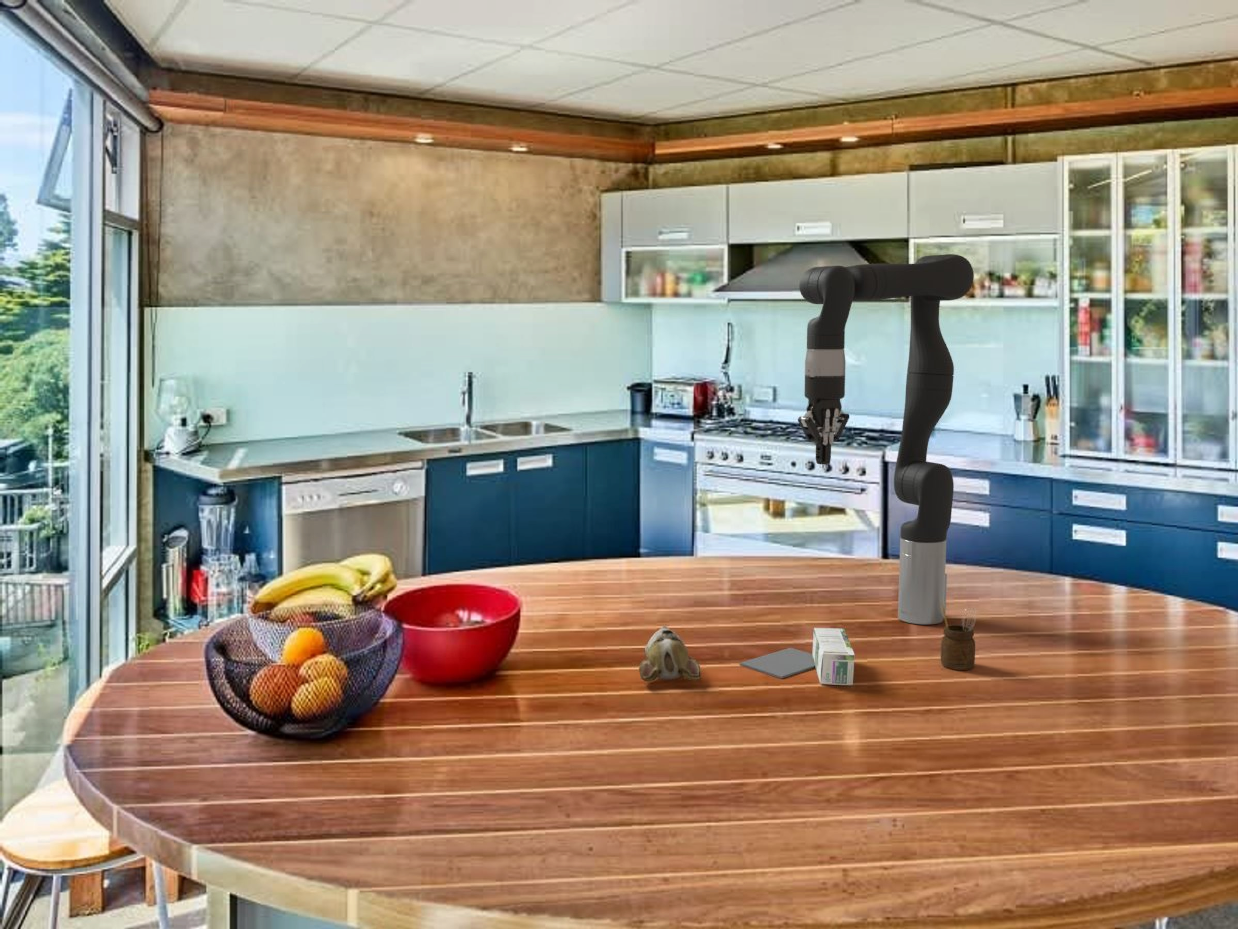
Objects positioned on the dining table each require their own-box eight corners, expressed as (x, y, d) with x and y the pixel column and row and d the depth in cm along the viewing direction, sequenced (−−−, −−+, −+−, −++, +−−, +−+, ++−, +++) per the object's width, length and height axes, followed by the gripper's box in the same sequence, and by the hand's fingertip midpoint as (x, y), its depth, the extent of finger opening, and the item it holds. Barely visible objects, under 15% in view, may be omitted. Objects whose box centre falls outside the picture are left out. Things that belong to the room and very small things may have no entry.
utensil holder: (976, 672, 191) (979, 606, 189) (939, 669, 192) (942, 604, 191) (972, 661, 197) (975, 598, 195) (937, 659, 198) (939, 596, 197)
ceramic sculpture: (693, 616, 196) (702, 645, 181) (693, 661, 198) (702, 694, 183) (635, 617, 195) (640, 647, 181) (635, 662, 197) (640, 695, 182)
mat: (790, 649, 204) (790, 647, 204) (832, 662, 197) (832, 660, 197) (739, 665, 196) (739, 662, 195) (781, 678, 188) (781, 676, 188)
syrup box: (842, 657, 198) (855, 686, 184) (810, 656, 199) (820, 685, 184) (844, 628, 197) (856, 654, 183) (812, 626, 198) (822, 653, 183)
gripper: (831, 371, 210) (829, 459, 212) (786, 373, 201) (785, 465, 204) (862, 372, 204) (860, 462, 207) (818, 375, 196) (816, 469, 198)
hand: (823, 463), depth 205 cm, fingers closed
